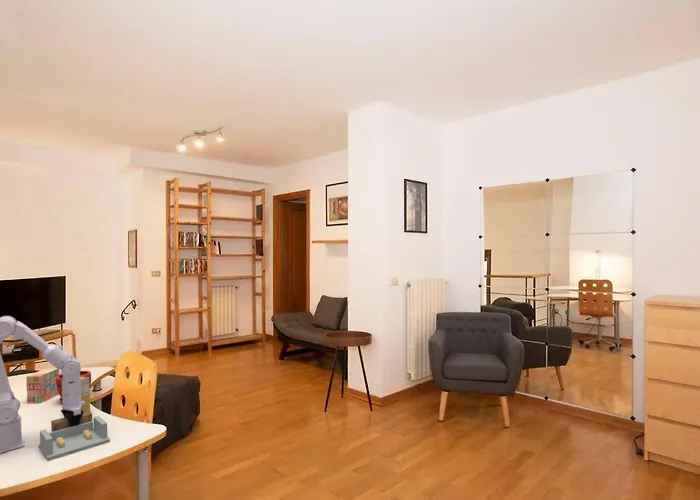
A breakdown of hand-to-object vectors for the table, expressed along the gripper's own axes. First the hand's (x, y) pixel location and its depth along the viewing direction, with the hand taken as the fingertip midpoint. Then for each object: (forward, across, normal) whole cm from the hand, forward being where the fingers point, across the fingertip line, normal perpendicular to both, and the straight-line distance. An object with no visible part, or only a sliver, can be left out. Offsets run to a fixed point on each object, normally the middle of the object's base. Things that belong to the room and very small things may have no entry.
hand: (72, 429), depth 158 cm
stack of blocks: (+2, +57, -5) cm, 57 cm away
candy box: (+2, +20, -7) cm, 21 cm away
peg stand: (+1, -11, +2) cm, 11 cm away
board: (+2, 0, 0) cm, 2 cm away
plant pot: (+2, +40, -10) cm, 41 cm away
